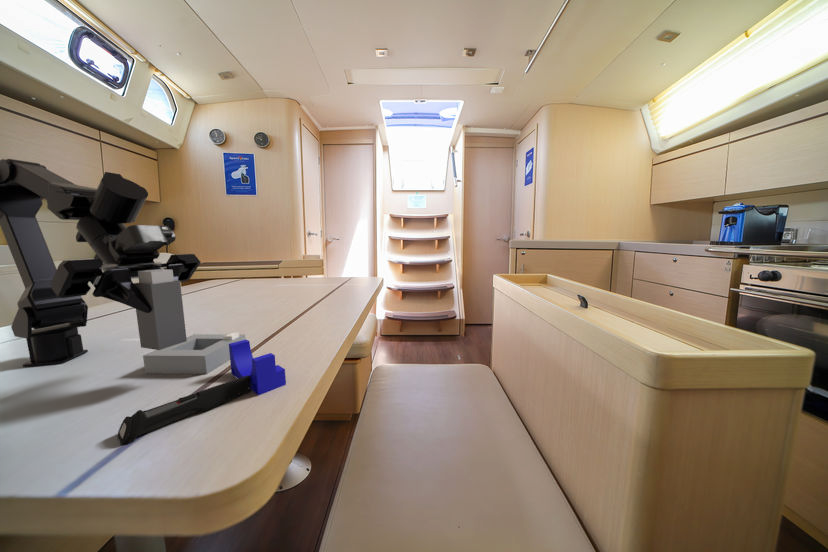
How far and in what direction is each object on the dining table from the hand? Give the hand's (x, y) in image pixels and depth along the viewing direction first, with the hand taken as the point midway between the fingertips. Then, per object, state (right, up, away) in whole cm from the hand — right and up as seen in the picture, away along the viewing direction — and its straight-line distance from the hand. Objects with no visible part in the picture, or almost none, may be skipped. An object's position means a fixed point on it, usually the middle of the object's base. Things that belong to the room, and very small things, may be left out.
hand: (165, 307), depth 49 cm
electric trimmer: (+10, -15, -7) cm, 19 cm away
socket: (-2, -12, +11) cm, 16 cm away
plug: (-1, -7, +1) cm, 7 cm away
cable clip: (+14, -13, +3) cm, 20 cm away
